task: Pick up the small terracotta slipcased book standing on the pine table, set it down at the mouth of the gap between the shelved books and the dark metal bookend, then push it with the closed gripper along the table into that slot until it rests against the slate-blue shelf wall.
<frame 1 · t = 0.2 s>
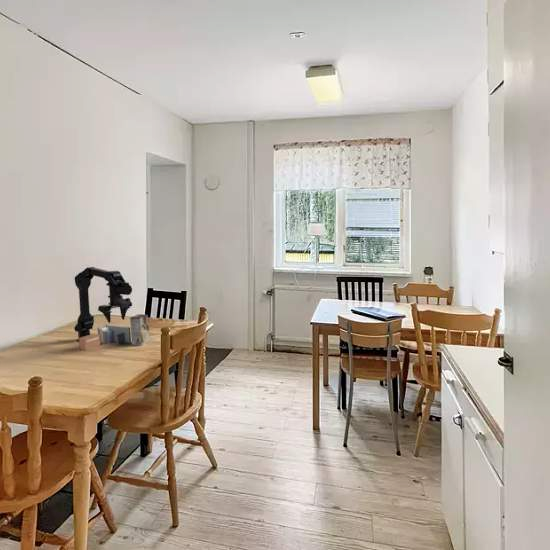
hand: (116, 321, 232), 14 cm above the table, fingers open, 9 cm apart
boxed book: (90, 347, 231), on the table
shelf: (118, 341, 242), on the table
coffee box: (140, 343, 238), on the table
bookend: (120, 343, 237), on the table
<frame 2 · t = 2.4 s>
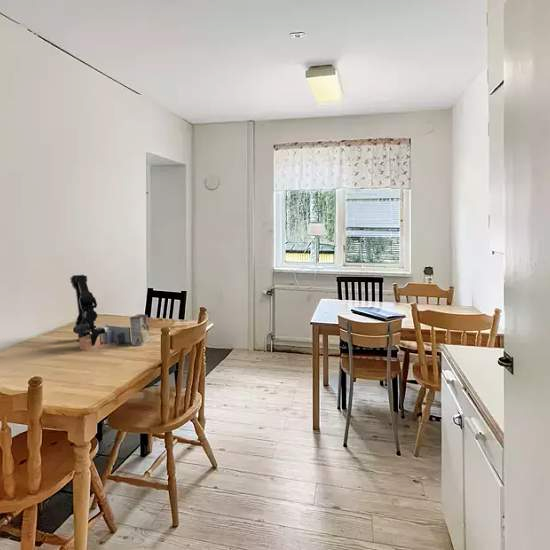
hand: (90, 345, 231), 1 cm above the table, fingers closed on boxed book, 4 cm apart
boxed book: (90, 347, 231), on the table, touching gripper
everything else where it was.
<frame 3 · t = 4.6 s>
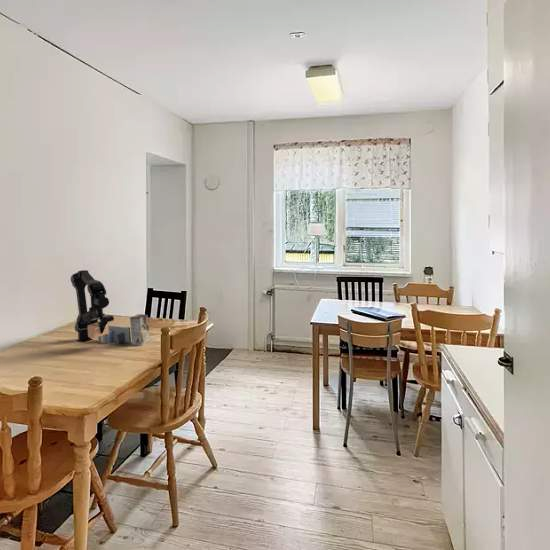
hand: (98, 332, 228), 9 cm above the table, fingers closed on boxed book, 4 cm apart
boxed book: (98, 335, 228), point 7 cm above the table, touching gripper
everything else where it was.
when the fingers open (2 cm above the table, at t = 6.0 s): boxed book drops 1 cm, on the table.
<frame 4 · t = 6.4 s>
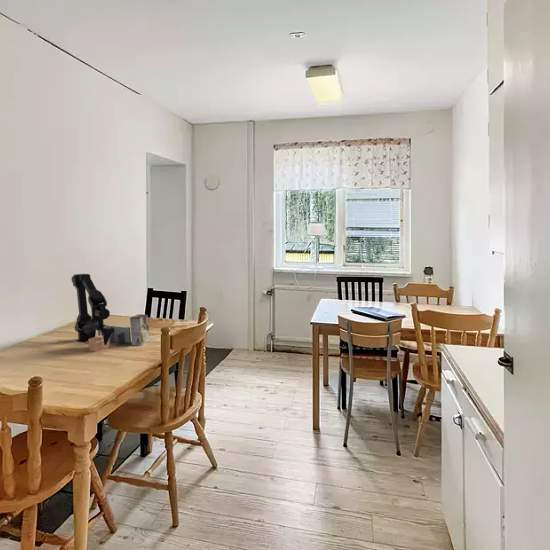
hand: (99, 344, 229), 2 cm above the table, fingers open, 9 cm apart
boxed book: (99, 348, 229), on the table
everything else where it was.
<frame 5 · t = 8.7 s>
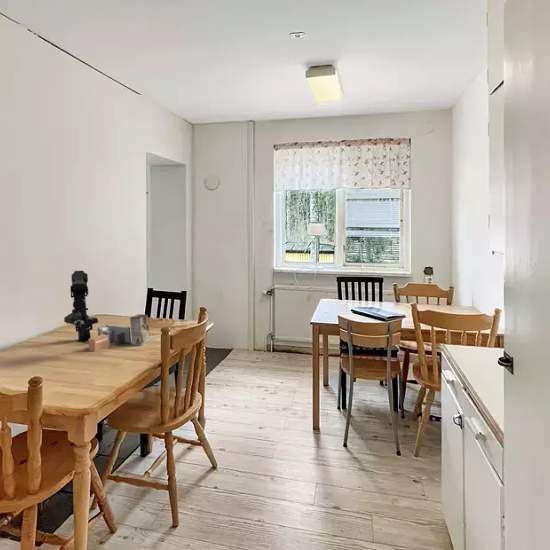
hand: (82, 335, 218), 10 cm above the table, fingers closed
nothing on the table moved.
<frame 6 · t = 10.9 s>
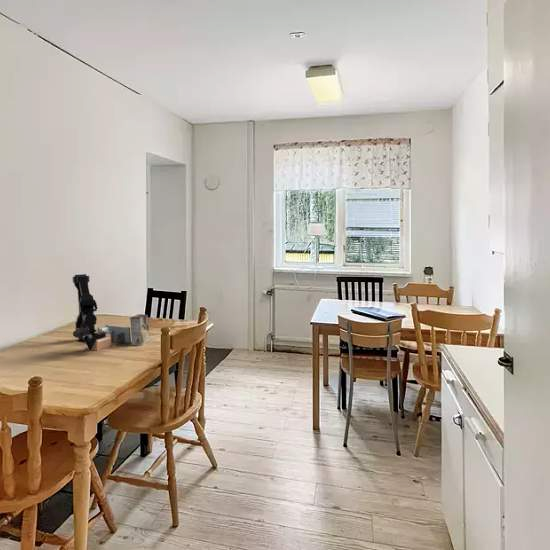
hand: (90, 349, 223), 1 cm above the table, fingers closed
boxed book: (101, 347, 230), on the table, touching gripper
everything else where it was.
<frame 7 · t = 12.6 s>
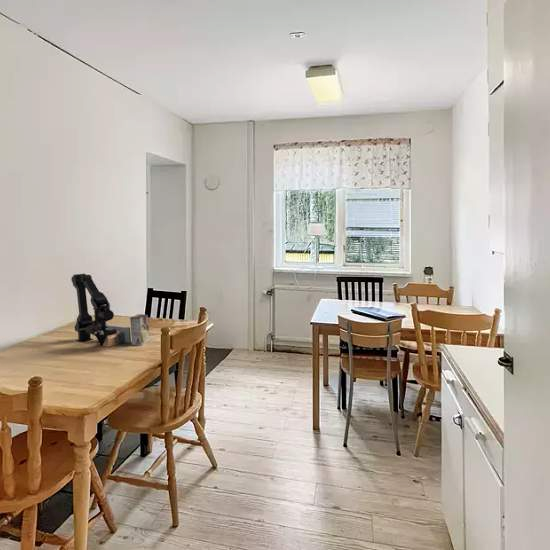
hand: (101, 345, 230), 1 cm above the table, fingers closed, pressing on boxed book
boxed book: (112, 344, 237), on the table, touching gripper, shelf
everything else where it was.
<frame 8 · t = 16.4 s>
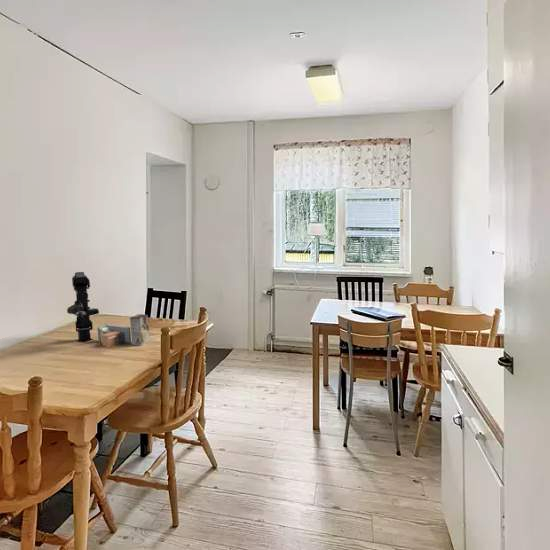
hand: (84, 325, 233), 12 cm above the table, fingers closed
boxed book: (112, 344, 237), on the table
everything else where it was.
at the end: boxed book 0.9 cm from the target spot, on the table; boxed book tilted 0°; the gripper is holding nothing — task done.
